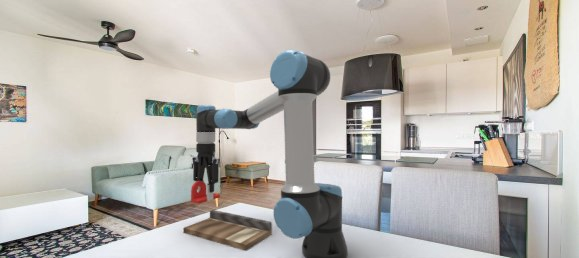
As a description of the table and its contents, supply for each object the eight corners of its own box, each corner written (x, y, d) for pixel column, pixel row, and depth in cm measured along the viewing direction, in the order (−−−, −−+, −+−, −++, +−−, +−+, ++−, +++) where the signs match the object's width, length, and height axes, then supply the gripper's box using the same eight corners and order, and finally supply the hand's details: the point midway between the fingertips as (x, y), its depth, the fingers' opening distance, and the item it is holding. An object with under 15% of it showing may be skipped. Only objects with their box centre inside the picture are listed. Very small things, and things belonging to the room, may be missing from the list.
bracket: (199, 203, 101) (199, 183, 101) (191, 202, 103) (191, 182, 103) (221, 196, 112) (221, 178, 112) (213, 195, 114) (213, 177, 114)
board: (271, 234, 103) (271, 221, 103) (245, 250, 89) (246, 236, 89) (213, 220, 119) (213, 209, 119) (183, 232, 105) (183, 220, 105)
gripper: (228, 143, 106) (227, 200, 106) (198, 142, 115) (197, 194, 115) (214, 143, 100) (214, 204, 99) (184, 142, 108) (183, 198, 108)
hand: (205, 199), depth 107 cm, fingers closed on bracket, 4 cm apart
